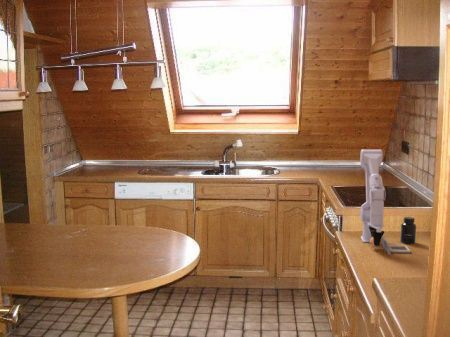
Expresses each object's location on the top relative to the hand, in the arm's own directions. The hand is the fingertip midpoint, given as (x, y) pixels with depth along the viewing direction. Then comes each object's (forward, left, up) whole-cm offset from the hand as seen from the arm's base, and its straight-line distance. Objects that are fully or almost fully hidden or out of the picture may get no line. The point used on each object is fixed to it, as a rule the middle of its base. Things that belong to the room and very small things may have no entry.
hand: (375, 243), depth 236 cm
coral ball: (0, 0, +1) cm, 1 cm away
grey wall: (0, +4, -3) cm, 5 cm away
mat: (0, +10, -3) cm, 10 cm away
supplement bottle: (-13, +17, -3) cm, 22 cm away
